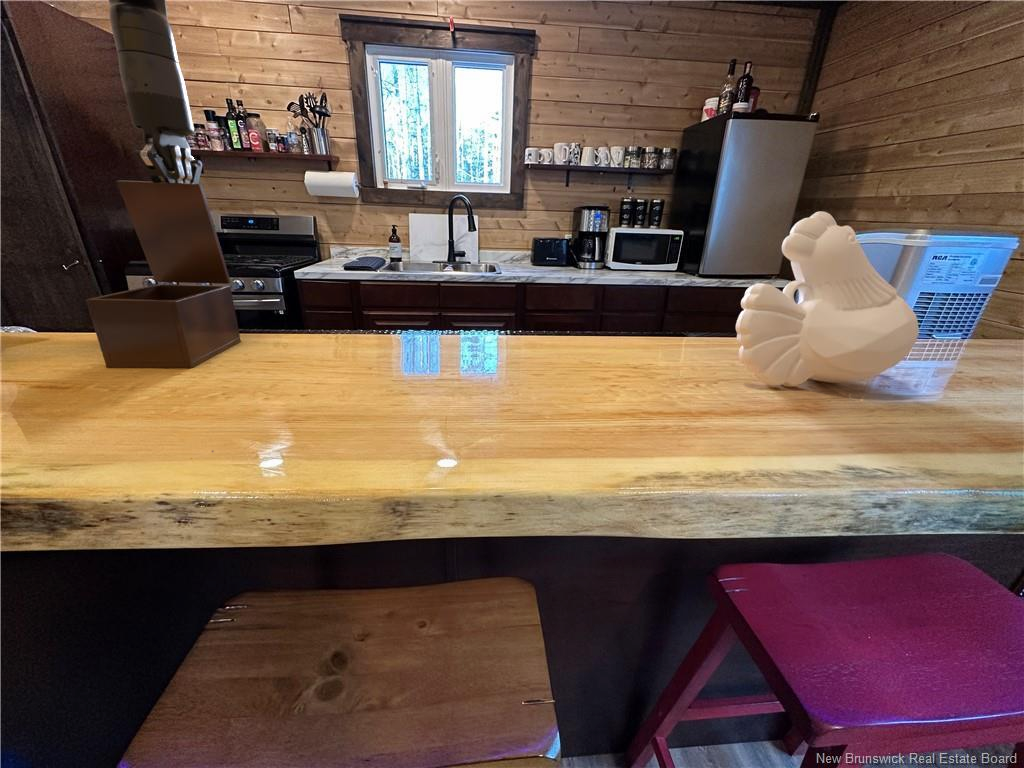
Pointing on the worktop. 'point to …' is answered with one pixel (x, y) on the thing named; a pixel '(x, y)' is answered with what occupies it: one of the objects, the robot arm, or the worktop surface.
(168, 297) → the chest
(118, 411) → the worktop surface
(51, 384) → the worktop surface
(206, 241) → the lid
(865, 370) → the decorative rooster
